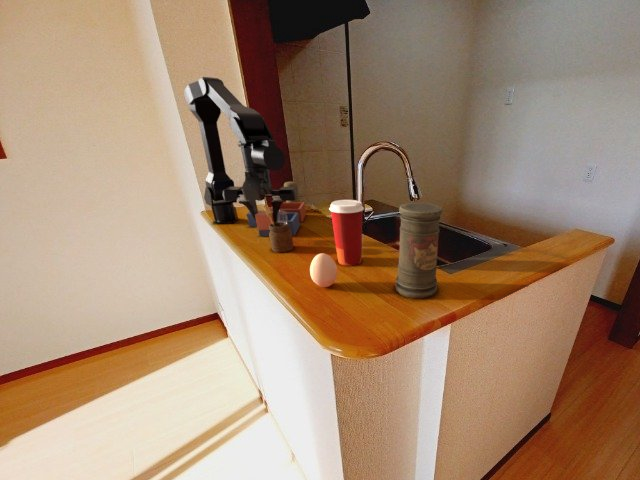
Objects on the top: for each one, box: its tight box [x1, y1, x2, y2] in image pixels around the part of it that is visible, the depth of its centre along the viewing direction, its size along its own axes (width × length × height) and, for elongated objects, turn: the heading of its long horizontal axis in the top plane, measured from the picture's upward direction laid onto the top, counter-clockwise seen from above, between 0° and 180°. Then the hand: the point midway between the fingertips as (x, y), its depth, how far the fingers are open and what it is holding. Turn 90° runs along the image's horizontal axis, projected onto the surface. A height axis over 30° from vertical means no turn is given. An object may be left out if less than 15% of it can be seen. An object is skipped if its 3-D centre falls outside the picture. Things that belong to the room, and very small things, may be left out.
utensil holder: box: [263, 204, 294, 253], centre depth 87 cm, size 6×6×12 cm
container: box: [394, 202, 443, 299], centre depth 66 cm, size 9×9×18 cm
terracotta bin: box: [269, 201, 307, 223], centre depth 116 cm, size 11×11×5 cm
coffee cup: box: [328, 199, 365, 267], centre depth 79 cm, size 8×8×15 cm
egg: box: [309, 252, 338, 288], centre depth 69 cm, size 6×6×8 cm
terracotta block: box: [255, 210, 274, 230], centre depth 92 cm, size 4×4×4 cm
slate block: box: [246, 210, 260, 228], centre depth 108 cm, size 4×4×4 cm
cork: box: [283, 181, 301, 203], centre depth 124 cm, size 6×6×11 cm
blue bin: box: [257, 213, 301, 237], centre depth 103 cm, size 11×11×5 cm
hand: (267, 224), depth 93 cm, fingers closed on terracotta block, 4 cm apart
